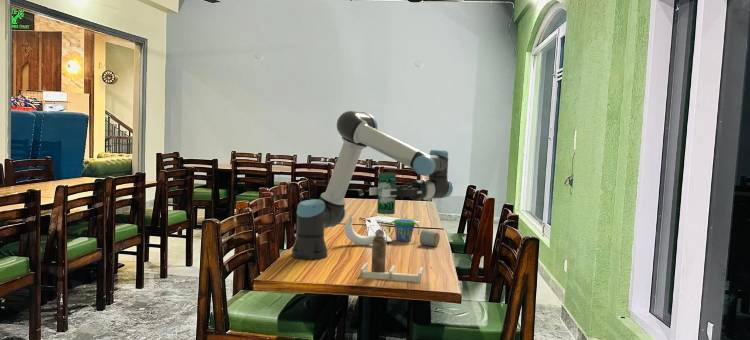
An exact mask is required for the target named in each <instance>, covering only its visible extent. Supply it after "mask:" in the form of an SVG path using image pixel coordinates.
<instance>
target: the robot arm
mask: <svg viewBox="0 0 750 340" xmlns="http://www.w3.org/2000/svg"><path fill="white" fill-rule="evenodd" d="M336 130H337V132H338V134H339V135H340V136H341V140H342V142H343V143H342V146H341V149H340V151H339V155H338V157H337V160H336V162H335V165H334V168H333V171H332V174H331V177H330V179H329V181H328V184H327V187H326V190H325V192H322V193H321V194H320V196H319V199H307V200H302V201H300V202H299V203H298V204H297V210H296V235H295V236H296V237H295V240H294V243H293V246H292V249H291V257H293V258H296V259H301V260H322V259H325V258H327V257H328V249H327V245H326V241H325V229H328V228H332V227H333V228H334V227H335V226H337V225H340V224H341V223H342V222H343V221H344V219H345V217H346V211H347V210H346V209H345V208H346V201H345V196H346V193H347V190H348V187H350V186H349V185H350V183H351V180H352V177H353V175H354V172H355V170H356V166H357V164H358V161H359V159H360V155H361V153H362V151H363V150H364V149H365V148H367V147H369V148H370V149H372V150H375V151H376V152H379V153H380V154H383V155H385V157H386V156H387V157H388V158H391V159H392V160H395V161H397V162H398V163H400V164H402V165H405V166H407V167H408V168H410V169H412V170H413V171H414V172H415V173H416V174H417V175H420V176H426V177H427V176H428V179H420V180H419V179H418V180H412V181H410V182H409V183H408V184H403V185H396V186H395V189H382V197H393V196H395V197H409V198H410V199H412V200H413V201H414V200H415V201H416V200H420V201H421V200H424V201H427V200H429V199H431V200H432V199H444V198H447V197H448V198H449V197H451V195H452V193H453V190H454V188H453V183H452V181H451V180H449V178H448V170H449V168H448V167H449V152H448V151H447V150H443V149H431V150H430V151H429V154H428V153H426V152H423V151H421V150H420V149H417V148H415V147H413V146H411V145H409V144H407V143H404V142H402V141H401V140H398V139H396V138H394V137H393V136H391V135H389V134H386V133H384V132H383V131H380V130H378V122H377V120H376V118H375V117H374V116H373V115H372V114H370V113H367V112H364V111H353V110H352V111H351V110H348V111H345V112H343V113H342V114H340V115H339V117H338V118H337V121H336ZM368 192H369V194H368V196H378V186H377V187H369V190H368Z"/></svg>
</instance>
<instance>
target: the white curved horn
mask: <svg viewBox="0 0 750 340" xmlns="http://www.w3.org/2000/svg"><path fill="white" fill-rule="evenodd" d="M348 219H349V220H348V222H346V223H345V225H344V227H343V228H344V234H345V236H346V238H347V239H348V240H349V241H350V242H351V243H353V244H355V245H358V246H369V245H372V242H373V239H374V236H376V235H375V234H374V235H361V234H358V233H357V232H356V231H355V229H354V227H353V220H354V217H353V216H352V215H351V214H350V215H349V217H348ZM383 237H385V235H384V236H383Z"/></svg>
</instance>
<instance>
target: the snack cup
mask: <svg viewBox="0 0 750 340" xmlns="http://www.w3.org/2000/svg"><path fill="white" fill-rule="evenodd" d="M393 223H394V229H395V232H394V233H395V240H396V241H398V242H406V243H407V242H412V236H413V232H414V228H415V225H416V226H417V229H418V232H417V236H420V233H421V232H420V231H421V229H420V228H421V227H420V224H418V223H417V222H416V221H415V220H412V219H406V218H397V219H393V220H392V221H391V222H390V223H389V225H388V232H389V234H391V225H392V224H393Z"/></svg>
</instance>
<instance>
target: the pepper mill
mask: <svg viewBox="0 0 750 340" xmlns="http://www.w3.org/2000/svg"><path fill="white" fill-rule="evenodd" d="M374 235H376V236H374V239H373V242H372V244H371V245H372V247H371V268H370V269H371V270H370V271H371V272H379V273H385V272H386V254H387V252H386V251H387V240H386V237H385V232H384V231H383V229H377V230H376V231H375V234H374ZM383 236H384V237H383Z"/></svg>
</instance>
